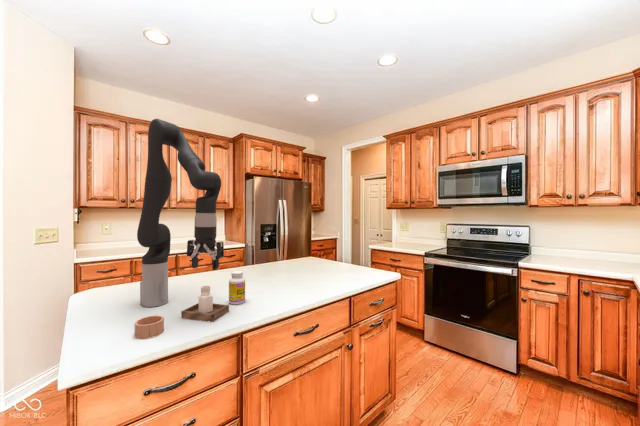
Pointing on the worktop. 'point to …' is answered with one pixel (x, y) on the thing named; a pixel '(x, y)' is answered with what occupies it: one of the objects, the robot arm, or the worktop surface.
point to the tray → (211, 316)
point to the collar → (149, 326)
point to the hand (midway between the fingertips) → (204, 268)
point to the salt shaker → (205, 300)
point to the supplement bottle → (236, 288)
